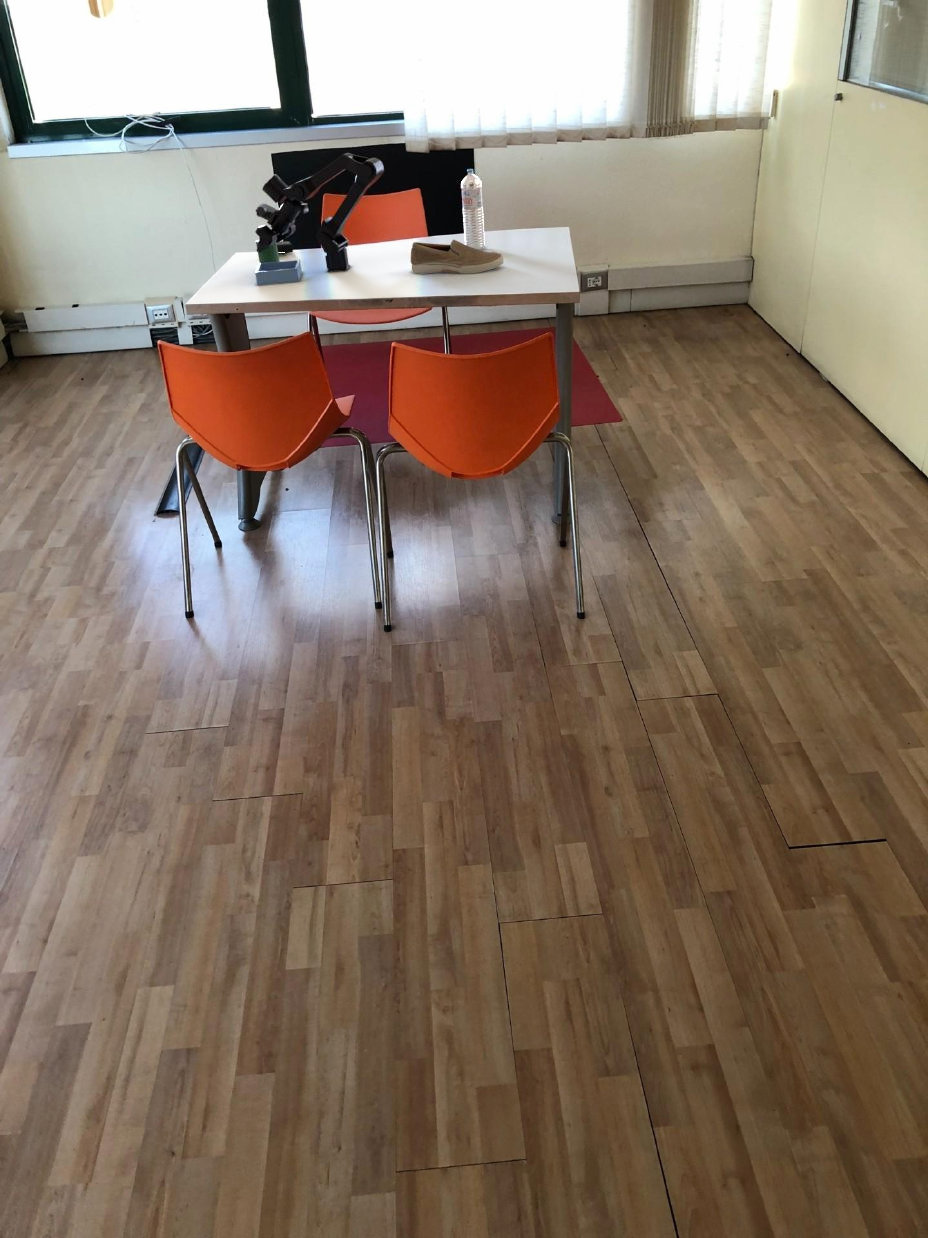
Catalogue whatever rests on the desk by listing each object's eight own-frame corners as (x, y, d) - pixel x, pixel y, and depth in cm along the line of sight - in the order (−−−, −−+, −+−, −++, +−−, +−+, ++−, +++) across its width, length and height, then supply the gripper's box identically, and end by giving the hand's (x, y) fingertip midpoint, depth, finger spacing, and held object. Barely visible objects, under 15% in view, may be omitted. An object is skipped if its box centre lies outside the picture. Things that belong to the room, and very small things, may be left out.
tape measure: (274, 256, 341) (273, 245, 339) (272, 253, 347) (270, 242, 344) (294, 254, 342) (292, 243, 340) (291, 250, 348) (289, 239, 346)
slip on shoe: (505, 263, 307) (504, 234, 303) (500, 272, 298) (498, 242, 293) (417, 266, 314) (414, 237, 309) (408, 275, 304) (405, 245, 300)
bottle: (283, 266, 328) (276, 226, 321) (277, 271, 322) (270, 230, 315) (264, 267, 329) (257, 227, 322) (258, 272, 323) (251, 231, 316)
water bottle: (462, 248, 330) (456, 169, 316) (479, 245, 332) (475, 166, 319) (470, 252, 325) (465, 171, 311) (488, 248, 327) (484, 168, 313)
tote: (301, 272, 318) (299, 259, 316) (299, 281, 308) (296, 268, 306) (261, 275, 318) (259, 263, 316) (257, 285, 308) (255, 272, 306)
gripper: (281, 189, 319) (258, 224, 328) (255, 200, 304) (231, 237, 313) (306, 214, 321) (282, 248, 330) (281, 226, 306) (257, 262, 315)
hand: (263, 248), depth 322 cm, fingers open, 8 cm apart
